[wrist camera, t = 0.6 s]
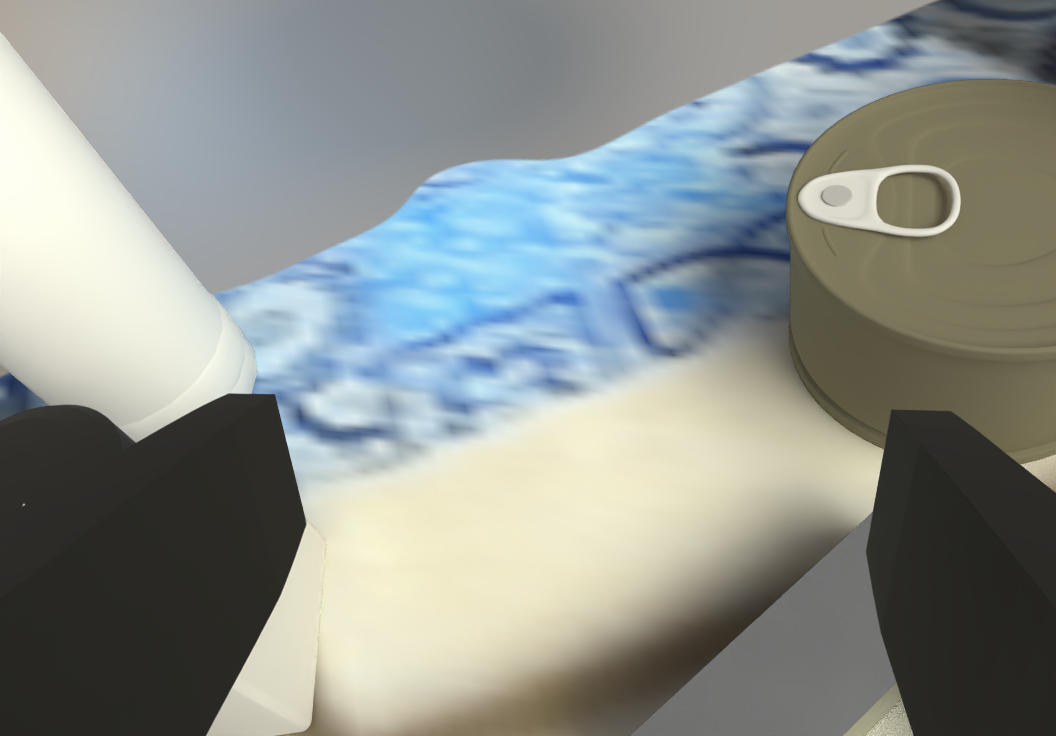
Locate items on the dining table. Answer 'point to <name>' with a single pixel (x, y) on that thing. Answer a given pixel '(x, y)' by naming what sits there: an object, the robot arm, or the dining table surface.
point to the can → (931, 262)
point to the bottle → (98, 280)
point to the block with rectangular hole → (796, 663)
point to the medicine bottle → (293, 627)
